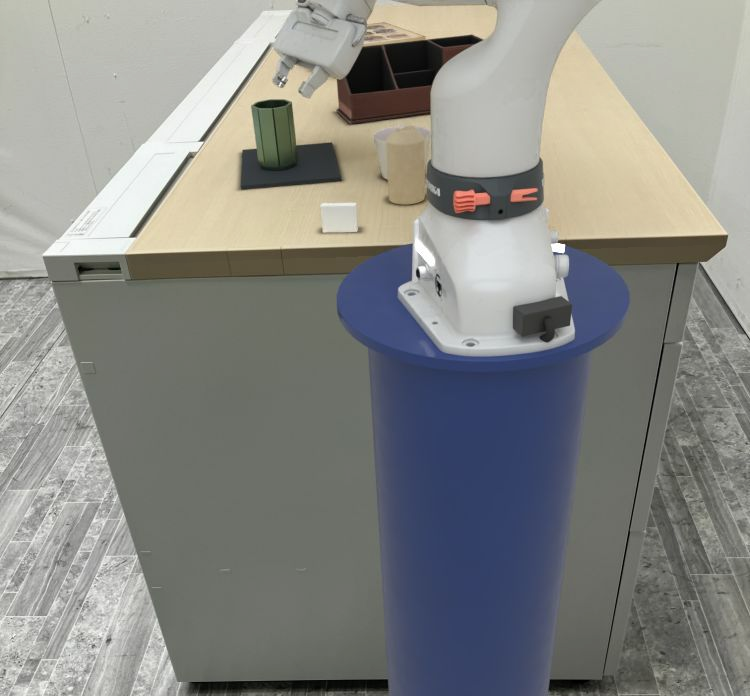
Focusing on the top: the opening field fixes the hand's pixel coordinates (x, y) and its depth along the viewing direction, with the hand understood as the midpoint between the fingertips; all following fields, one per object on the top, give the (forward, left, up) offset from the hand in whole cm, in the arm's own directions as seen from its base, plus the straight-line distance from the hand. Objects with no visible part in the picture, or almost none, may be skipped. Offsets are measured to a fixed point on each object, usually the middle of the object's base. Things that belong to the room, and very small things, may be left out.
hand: (289, 90), depth 132 cm
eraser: (-32, -5, -12) cm, 35 cm away
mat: (-1, +1, -12) cm, 12 cm away
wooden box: (+77, -18, -12) cm, 80 cm away
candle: (-22, -16, -12) cm, 29 cm away
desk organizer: (+30, -24, -12) cm, 40 cm away
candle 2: (-11, -17, -12) cm, 23 cm away
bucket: (-3, +6, -6) cm, 9 cm away
